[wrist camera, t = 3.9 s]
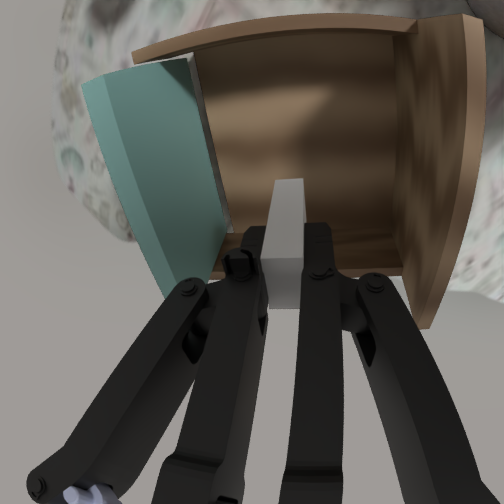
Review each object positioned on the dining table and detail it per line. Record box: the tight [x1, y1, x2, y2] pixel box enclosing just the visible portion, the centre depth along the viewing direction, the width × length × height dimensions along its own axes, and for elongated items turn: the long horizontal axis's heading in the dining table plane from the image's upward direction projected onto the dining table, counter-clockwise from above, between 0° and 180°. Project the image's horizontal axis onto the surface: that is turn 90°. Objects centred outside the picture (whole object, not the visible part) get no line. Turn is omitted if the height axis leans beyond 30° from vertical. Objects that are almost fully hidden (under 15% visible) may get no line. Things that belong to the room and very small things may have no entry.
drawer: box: [131, 13, 486, 330], centre depth 20 cm, size 21×20×15 cm
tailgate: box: [81, 58, 227, 299], centre depth 21 cm, size 18×3×12 cm, turn 9°
